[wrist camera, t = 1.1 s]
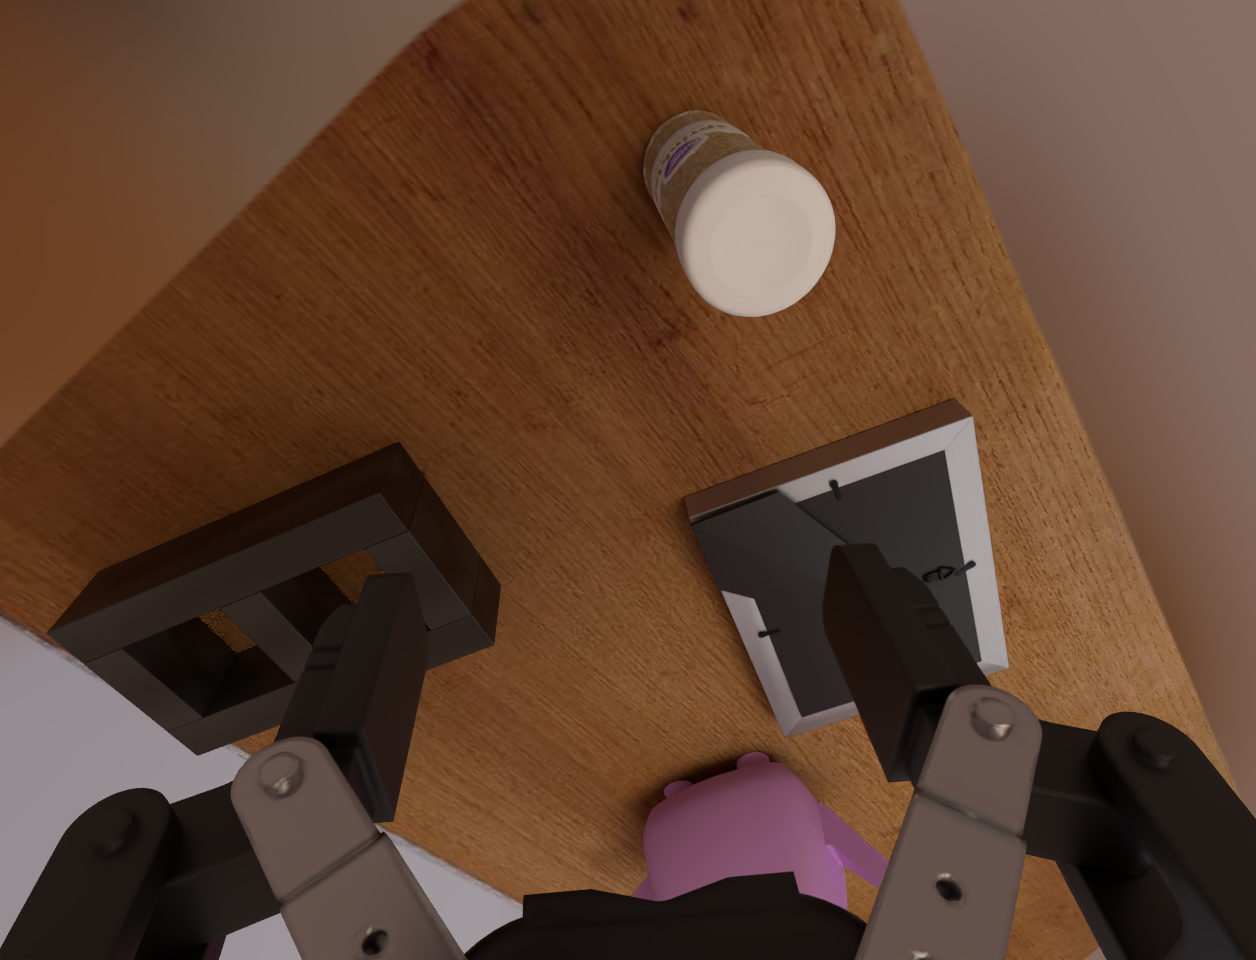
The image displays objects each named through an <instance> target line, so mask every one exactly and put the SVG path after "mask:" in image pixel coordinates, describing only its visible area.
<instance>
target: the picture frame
mask: <svg viewBox="0 0 1256 960" xmlns="http://www.w3.org/2000/svg"><path fill="white" fill-rule="evenodd" d="M685 502H686V506H687V510H688V514H689V518H690V520H691V526H692V528H693V531H694V533H695V535H696V538H697V540H698V542H699V545H700V547H701V549H702V552H703V554H704V556H705V558H706V561H707V563H708V565H709V568H710V570H711V572H712V575H713V577H714V579H715V581H716V584H717V586H718V588H719V590H721V592H722V594H723V597H724V599H725V601H726V604H727V606H728V608H729V610H730V613H731V615H732V617H733V620H734V622H735V624H736V627H737V629H738V631H739V634H740V636H741V638H742V640H743V643H744V645H745V647H746V650H747V652H748V654H749V657H750V659H751V661H752V664H753V666H754V668H755V671H756V673H757V675H758V677H759V680H760V682H761V684H762V687H763V689H764V691H765V694H766V696H767V698H768V701H769V703H770V705H771V707H772V710H773V712H774V714H775V717H776V719H777V721H778V724H779V726H780V728H781V731H782V733H783V735H784V737H789V736H792V735H795V734H798V733H801V732H805V731H808V730H811V729H814V728H818V727H821V726H824V725H827V724H830V723H834V722H837V721H840V720H843V719H847V718H850V717H853V716H856V715H859V712H858V710H857V707H856V705H855V703H854V700H853V698H852V696H851V693H850V691H849V689H848V686H847V684H846V681H845V679H844V677H843V674H842V672H841V670H840V667H839V665H838V663H837V660H836V658H835V656H834V653H833V651H832V649H831V646H830V644H829V641H828V639H827V637H826V633H825V630H824V625H823V617H822V605H823V598H824V592H825V585H826V579H827V573H828V566H829V560H830V554H831V550H832V548H833V547H834V546H835V545H845V544H860V543H875V544H876V545H877V546H878V548H879V549H880V551H881V553H882V554H883V556H884V558H885V559H886V561H887V563H888V564H889V566H890V568H899V567H905V568H906V569H907V570H908V571H910V572H911V573H912V574H914V575H915V576H916V577H917V578H919V579H920V580H921V581H923V582H924V583H925V584H926V585H927V586H928V588H929V589H930V591H931V592H932V594H933V596H934V597H935V599H936V600H937V602H938V603H939V608H940V609H942V610H943V611H944V613H945V614H946V616H947V617H948V619H949V621H950V625H953V627H954V628H955V630H956V631H957V633H958V635H959V636H960V638H961V639H962V641H963V642H964V644H965V646H966V647H967V649H968V650H969V652H970V653H971V655H972V656H973V658H974V660H975V661H976V663H977V664H978V666H979V667H980V669H981V670H982V672H983V674H984V675H988V674H992V673H995V672H998V671H1001V670H1004V669H1008V668H1009V665H1008V658H1007V651H1006V644H1005V637H1004V630H1003V623H1002V616H1001V609H1000V602H999V595H998V588H997V581H996V574H995V567H994V561H993V554H992V547H991V540H990V533H989V526H988V519H987V512H986V505H985V498H984V491H983V484H982V477H981V470H980V463H979V456H978V449H977V442H976V435H975V428H974V421H973V415H972V414H971V413H970V412H969V411H967V410H966V409H965V408H964V407H963V406H962V405H961V404H960V403H959V402H958V401H957V400H956V399H952V400H949V401H946V402H944V403H941V404H938V405H936V406H933V407H930V408H927V409H925V410H922V411H919V412H916V413H914V414H911V415H908V416H905V417H903V418H900V419H897V420H894V421H892V422H889V423H886V424H884V425H881V426H878V427H875V428H873V429H870V430H867V431H864V432H862V433H859V434H856V435H853V436H851V437H848V438H845V439H842V440H840V441H837V442H834V443H832V444H829V445H826V446H823V447H821V448H818V449H815V450H812V451H810V452H807V453H804V454H801V455H799V456H796V457H793V458H790V459H788V460H785V461H782V462H780V463H777V464H774V465H771V466H769V467H766V468H763V469H760V470H758V471H755V472H752V473H749V474H747V475H744V476H741V477H738V478H736V479H733V480H730V481H728V482H725V483H722V484H719V485H717V486H714V487H711V488H708V489H706V490H703V491H700V492H697V493H695V494H692V495H689V496H686V497H685Z"/></svg>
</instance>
